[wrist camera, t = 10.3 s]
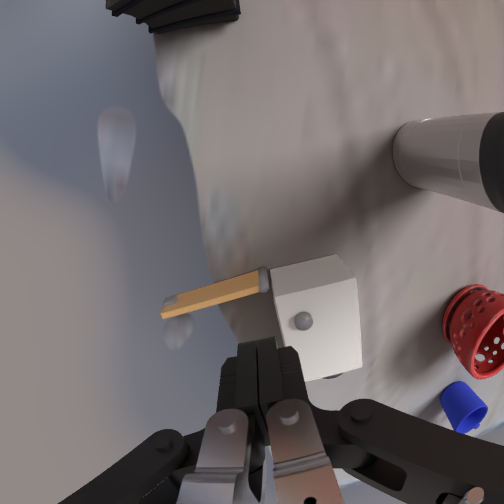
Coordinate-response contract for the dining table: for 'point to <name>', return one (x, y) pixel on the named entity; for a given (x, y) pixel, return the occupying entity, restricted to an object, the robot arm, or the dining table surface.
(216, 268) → the dining table surface
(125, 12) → the black ridged block
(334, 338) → the camera body
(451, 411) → the mug
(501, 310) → the plant pot
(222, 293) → the tan wooden plank
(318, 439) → the robot arm
